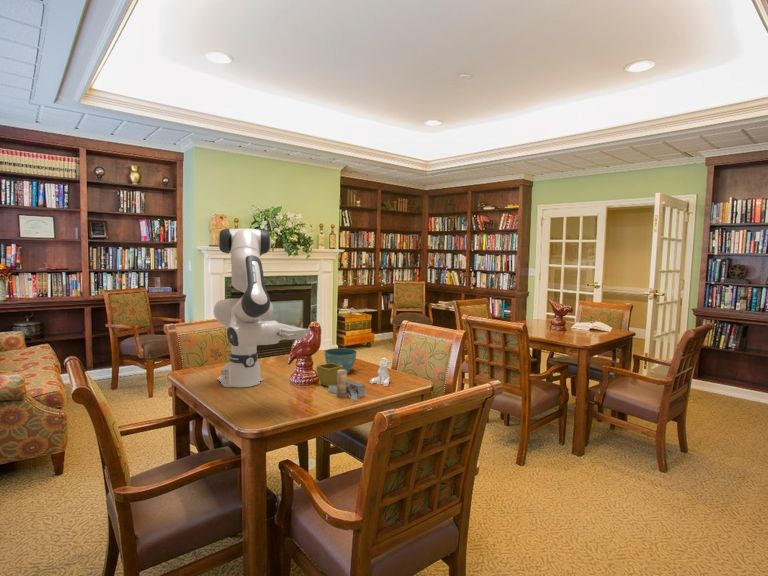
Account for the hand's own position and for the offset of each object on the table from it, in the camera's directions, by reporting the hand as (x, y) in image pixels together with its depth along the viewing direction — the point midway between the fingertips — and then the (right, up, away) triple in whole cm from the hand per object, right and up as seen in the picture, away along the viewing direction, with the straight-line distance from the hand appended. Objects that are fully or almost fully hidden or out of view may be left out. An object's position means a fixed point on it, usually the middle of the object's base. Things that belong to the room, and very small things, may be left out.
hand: (302, 329), depth 185 cm
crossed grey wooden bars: (+17, -29, +15) cm, 37 cm away
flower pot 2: (+7, -28, +29) cm, 41 cm away
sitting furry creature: (+32, -29, +34) cm, 54 cm away
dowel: (+15, -30, +12) cm, 35 cm away
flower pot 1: (+10, -27, +52) cm, 59 cm away
